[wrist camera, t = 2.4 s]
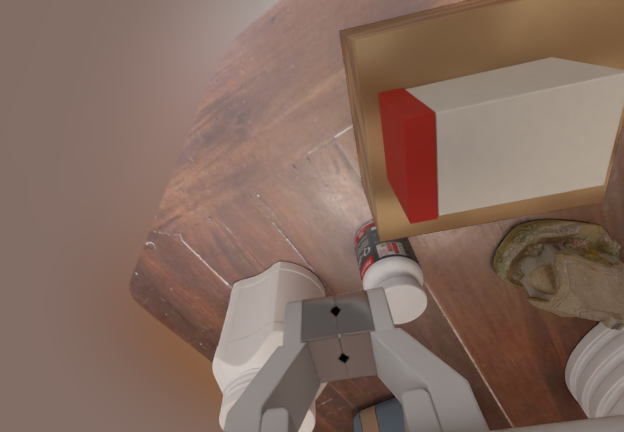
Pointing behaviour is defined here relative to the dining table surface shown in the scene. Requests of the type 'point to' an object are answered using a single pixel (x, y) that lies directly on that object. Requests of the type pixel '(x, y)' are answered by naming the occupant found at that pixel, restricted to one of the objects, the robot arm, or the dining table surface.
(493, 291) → the dining table surface
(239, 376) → the jar
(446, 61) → the block
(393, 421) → the strapped satchel pouch
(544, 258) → the ceramic model
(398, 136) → the container
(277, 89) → the dining table surface
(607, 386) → the plate stack
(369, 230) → the pill bottle
